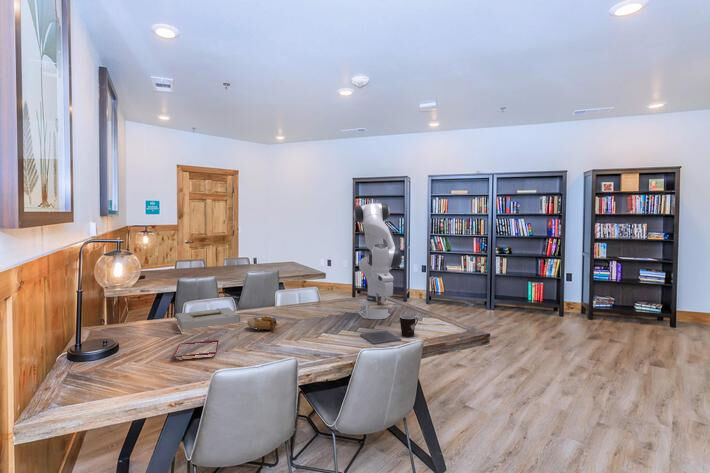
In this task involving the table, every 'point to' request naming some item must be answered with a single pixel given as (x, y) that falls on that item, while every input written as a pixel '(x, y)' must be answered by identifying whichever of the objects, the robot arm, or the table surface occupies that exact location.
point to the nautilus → (263, 322)
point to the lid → (380, 304)
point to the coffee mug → (408, 325)
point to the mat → (380, 337)
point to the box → (207, 318)
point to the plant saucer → (199, 353)
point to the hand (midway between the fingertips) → (380, 302)
